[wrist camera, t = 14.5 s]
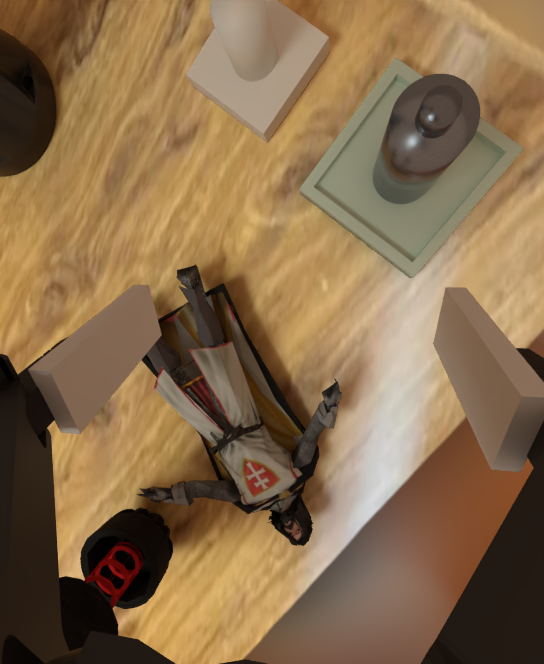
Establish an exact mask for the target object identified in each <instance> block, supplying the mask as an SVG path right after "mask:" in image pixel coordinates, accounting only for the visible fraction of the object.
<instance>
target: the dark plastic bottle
mask: <svg viewBox="0 0 544 664" xmlns="http://www.w3.org/2000/svg"><path fill="white" fill-rule="evenodd" d="M479 120H480V105H479V101H478V98H477V96H476V94H475V92H474V91H473V89H472V88H471V87H470V86H469V85H468V84H467V83H466V82H465V81H463V80H462V79H460V78H458V77H456V76H453V75H449V74H433V75H429V76H425V77H423V78H420V79H418V80H417V81H415V82H413V83H412V84H411V85H409V86H408V87H407V88H406V89H405V90H404V91H403V92H402V93H401V94H400V96H399V97H398V99H397V100H396V102H395V104H394V106H393V109H392V112H391V115H390V118H389V121H388V124H387V128H386V131H385V134H384V137H383V140H382V143H381V147H380V150H379V153H378V156H377V159H376V162H375V165H374V169H373V184H374V187H375V189H376V191H377V192H378V194H379V195H380V196H381V197H382V198H383V199H385V200H386V201H388V202H391V203H394V204H407V203H411V202H413V201H415V200H417V199H419V198H420V197H422V196H423V195H424V194H425V193H426V192H427V191H428V190H429V188H430V187H431V186H432V185H433V184H434V183H435V182H436V181H437V179H438V178H439V177H440V176H441V175H442V174H443V173H444V171H445V170H446V169H447V168H448V167H449V166H450V165H451V164H452V162H453V161H454V160H455V159H456V158H457V157H458V156H459V155H460V153H461V152H462V151H463V150H464V149H465V148H466V147H467V145H468V144H469V143H470V142H471V140H472V139H473V137H474V135H475V133H476V131H477V128H478V125H479Z"/></svg>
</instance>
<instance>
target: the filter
mask: <svg viewBox="0 0 544 664" xmlns="http://www.w3.org/2000/svg"><path fill="white" fill-rule="evenodd" d="M169 535H170V529H169V528H168V526H167V525H164V520H163V518H162V517H161V516H160V515H159V514H156V513H151V514H150V515H149V512H148V510H147V509H144V508H138V509H136V510H133V509H126V510H123V511H120V512H119V513H117V514H116V515H114V516H113V517H111V518H110V519H109V520H108V521H107V522H106V523H104V524H103V525H102V526H101V527H100V528H99V529H98V530H97V531H95V532H94V533H93V534H92V535H91V536H90V537H89V538H87V540H86V542H85V544H84V546H83V548H82V550H81V558H80V560H81V569H82V572H83V575H84V578H85V580H84V581H83V580H81V579H77V578H72V577H67V576H65V577H61V578H59V587H60V605H61V623H62V630H63V635H64V638H65V641H66V644H67V646H68V649H69V652H70V651H73V650H76V649H79V648H83V645H84V643H85V641H86V639H87V637H88V635H89V633H90V631H96V632H101V633H107V634H112V635H117V636H118V623H117V620H116V617H115V614H114V612H113V609H112V608H113V607H114V606H117V607H120V608H123V609H129V608H135V607H139V606H141V605H143V604H145V603H146V602H147V601H148V600H149V599H150V598H151V597H152V596H153V595H154V593H155V591H156V589H157V587H158V585H159V583H160V582H161V580H162V578H163V576H164V574H165V573H166V570H167V568H168V565H169V561H170V559H171V557H172V553H173V544H172V541H171V540H170V538H169Z"/></svg>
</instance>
